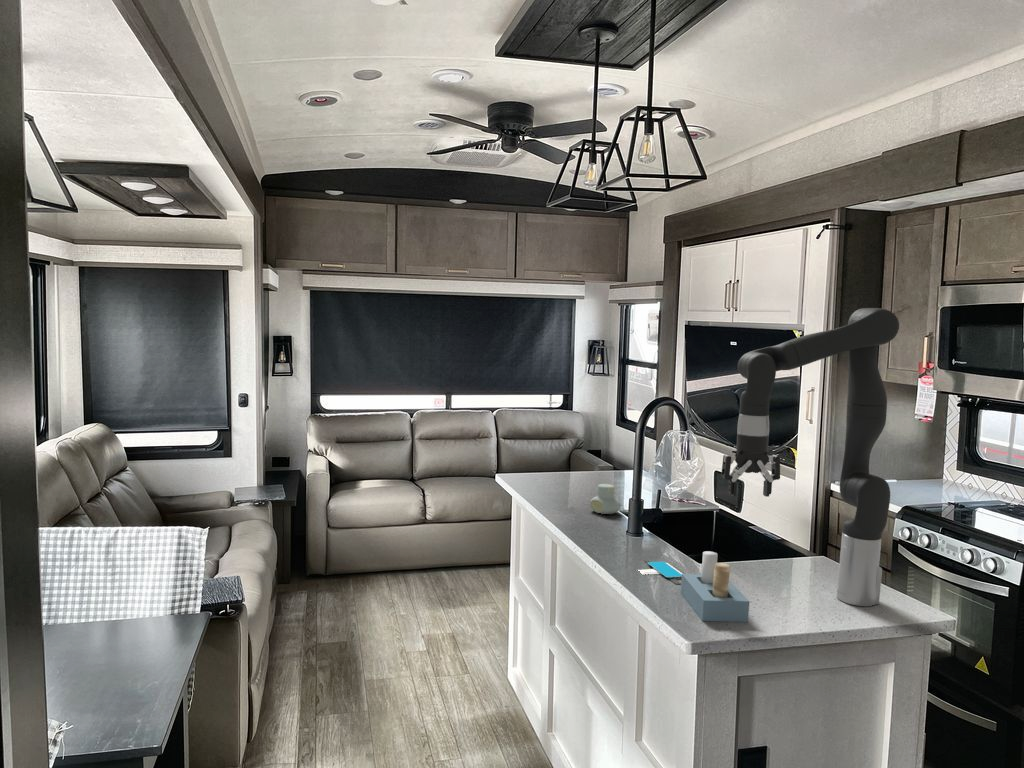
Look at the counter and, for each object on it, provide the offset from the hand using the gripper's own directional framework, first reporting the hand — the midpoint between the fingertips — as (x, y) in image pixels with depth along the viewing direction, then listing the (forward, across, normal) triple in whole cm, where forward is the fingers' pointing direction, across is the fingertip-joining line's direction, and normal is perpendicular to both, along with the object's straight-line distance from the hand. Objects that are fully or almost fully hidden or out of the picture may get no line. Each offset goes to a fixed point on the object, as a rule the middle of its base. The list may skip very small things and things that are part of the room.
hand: (749, 496), depth 190 cm
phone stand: (+27, +17, -20) cm, 38 cm away
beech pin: (+26, +10, +10) cm, 29 cm away
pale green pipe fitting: (+27, +20, -81) cm, 88 cm away
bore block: (+27, +10, +5) cm, 29 cm away
